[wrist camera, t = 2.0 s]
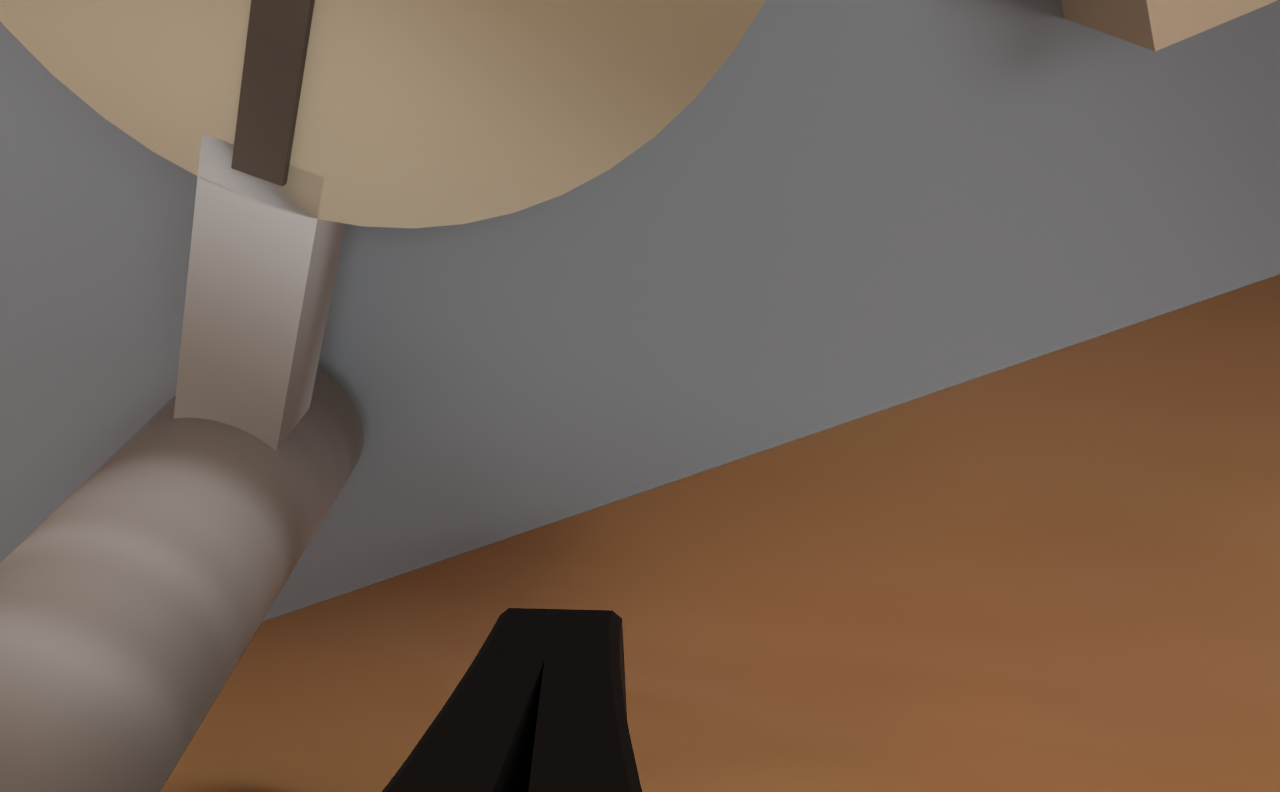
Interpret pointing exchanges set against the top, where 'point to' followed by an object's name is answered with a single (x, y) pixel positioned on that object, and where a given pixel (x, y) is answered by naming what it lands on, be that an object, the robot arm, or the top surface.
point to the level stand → (677, 263)
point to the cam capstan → (284, 305)
